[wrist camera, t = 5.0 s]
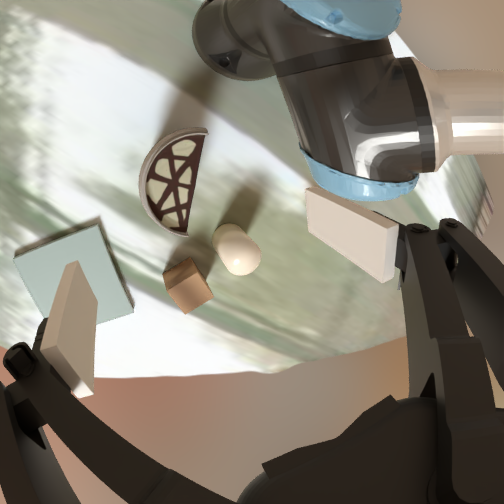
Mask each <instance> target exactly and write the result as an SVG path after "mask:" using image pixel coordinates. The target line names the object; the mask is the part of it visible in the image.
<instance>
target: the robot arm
mask: <svg viewBox="0 0 504 504" xmlns="http://www.w3.org/2000/svg"><path fill="white" fill-rule="evenodd" d="M401 11H402V6H401V1H400V0H206V1H205V2H204V3H203V4H202V6H201V7H200V9H199V10H198V12H197V14H196V16H195V18H194V21H193V26H192V37H193V42H194V45H195V48H196V50H197V52H198V54H199V55H200V57H201V58H202V59H203V60H204V62H205V63H206V64H207V65H208V66H210V67H211V68H212V69H213V70H215V71H216V72H218V73H220V74H222V75H224V76H226V77H229V78H232V79H236V80H242V81H255V80H261V79H265V78H268V77H271V76H274V75H277V79H278V82H279V84H280V87H281V90H282V92H283V95H284V98H285V101H286V103H287V106H288V109H289V112H290V114H291V117H292V120H293V123H294V126H295V129H296V132H297V135H298V138H299V147H300V150H301V152H302V154H303V155H304V156H305V158H306V161H307V164H308V166H309V169H310V172H311V174H312V177H313V178H314V180H315V181H316V182H317V184H318V185H320V186H321V187H322V188H324V189H326V190H328V191H329V192H328V191H326V190H324V189H321V188H319V187H316V186H314V187H311V188H307V189H305V197H306V208H307V220H308V232H310V233H311V234H313V235H314V236H316V237H317V238H319V239H320V240H322V241H323V242H325V243H326V244H328V245H329V246H330V247H332V248H333V249H335V250H336V251H338V252H339V253H340V254H342V255H343V256H345V257H346V258H348V259H349V260H350V261H352V262H353V263H355V264H356V265H357V266H359V267H360V268H362V269H363V270H364V271H366V272H367V273H369V274H370V275H371V276H373V277H374V278H376V279H377V280H378V281H380V282H381V283H384V282H386V281H388V280H390V279H392V278H394V270H395V266H396V267H397V268H399V269H400V277H399V284H398V290H400V287H401V290H402V298H403V305H404V314H405V323H406V334H407V346H408V361H409V397H408V398H405V399H401V400H397V401H396V400H395V399H394V398H393V397H392V396H391V395H389V396H387V397H386V398H385V399H383V400H382V401H380V402H379V403H377V404H376V405H374V406H373V407H371V408H369V409H368V410H366V411H364V412H363V413H362V414H361V415H360V416H359V417H358V418H357V419H356V420H355V421H354V422H353V423H352V424H351V425H350V426H349V427H348V428H347V429H346V430H345V431H344V432H343V433H342V434H341V435H340V436H338V437H337V438H335V439H332V440H328V441H325V442H321V443H317V444H313V445H309V446H306V447H301V448H297V449H295V450H292V451H290V452H288V453H286V454H284V455H282V456H279V457H277V458H274V459H272V460H270V461H267V462H265V463H262V466H263V469H264V472H263V473H261V474H260V475H259V476H257V477H256V478H255V479H254V480H253V481H252V482H250V483H249V485H248V486H247V487H246V488H245V489H244V491H243V492H242V493H241V495H240V497H239V499H238V500H237V502H233V501H231V500H229V499H227V498H225V497H223V496H221V495H219V494H216V493H214V492H212V491H210V490H208V489H206V488H205V487H203V486H201V485H199V484H197V483H195V482H193V481H191V480H190V479H188V478H186V477H184V476H183V475H181V474H179V473H177V472H176V471H174V470H172V469H168V468H166V467H164V466H163V465H161V464H160V463H158V462H156V461H155V460H154V459H152V458H150V457H149V456H148V455H146V454H145V453H143V452H141V451H140V450H139V449H137V448H136V447H135V446H133V445H132V444H131V443H129V442H128V441H126V440H125V439H124V438H122V437H121V436H120V435H118V434H117V433H116V432H115V431H113V430H112V429H111V428H110V427H108V426H107V425H106V424H105V423H104V422H102V421H101V420H100V419H99V418H98V417H96V416H95V415H94V414H93V413H92V412H91V411H89V410H88V409H87V408H86V407H85V406H84V405H83V404H81V402H79V401H78V400H77V399H76V398H75V397H74V396H73V395H72V394H71V390H72V391H73V393H74V394H75V395H76V396H77V397H78V398H81V397H85V396H89V395H93V394H94V351H95V333H96V319H97V308H98V301H97V299H96V297H95V295H94V293H93V291H92V289H91V287H90V285H89V283H88V281H87V278H86V276H85V274H84V272H83V270H82V268H81V265H80V263H79V261H78V260H77V261H74V262H71V263H68V264H66V266H65V269H64V271H63V274H62V277H61V280H60V283H59V285H58V288H57V291H56V294H55V298H54V301H53V304H52V307H51V310H50V314H49V317H47V318H44V319H43V321H42V322H41V324H40V325H39V327H38V330H37V334H36V335H37V336H36V337H35V342H34V344H33V348H32V350H31V349H30V347H29V346H28V345H27V344H26V343H25V342H19V343H17V344H15V345H13V346H12V347H11V348H10V349H9V350H8V351H7V352H6V354H5V356H4V358H3V365H4V367H5V368H6V369H7V370H8V371H9V372H10V374H11V375H12V376H13V377H14V379H15V380H16V381H15V382H13V383H12V384H10V385H8V386H7V387H5V386H4V385H3V383H2V382H1V381H0V485H1V488H2V491H3V494H4V497H5V499H6V502H7V504H81V503H80V501H79V500H78V498H77V496H76V494H75V493H74V491H73V490H72V488H71V486H70V484H69V482H68V481H67V479H66V477H65V475H64V473H63V471H62V469H61V467H60V465H59V463H58V461H57V459H56V457H55V455H54V453H53V451H52V448H51V446H50V444H49V442H48V439H47V437H46V435H45V432H44V430H43V428H42V426H44V425H45V424H47V423H48V425H49V426H50V427H51V428H52V429H53V431H54V432H55V433H56V434H57V435H58V437H59V438H60V439H61V440H62V441H63V442H64V443H65V445H66V446H67V447H68V448H69V449H70V450H71V451H72V452H73V453H74V454H75V455H76V456H77V457H78V458H79V459H80V460H81V461H82V462H83V464H84V465H86V466H87V467H88V468H89V469H90V470H91V471H92V472H93V473H94V474H95V475H96V476H97V477H98V478H99V479H100V480H101V481H103V482H104V483H105V484H106V485H107V486H108V487H109V488H110V489H111V490H113V491H114V492H115V493H116V494H117V495H119V496H120V497H121V498H122V499H124V500H125V501H126V502H127V503H128V504H504V408H495V402H494V397H493V390H492V386H491V380H490V376H489V371H488V367H487V363H486V359H487V361H488V363H489V365H490V367H491V369H492V371H493V373H494V375H495V377H496V379H497V381H498V383H499V385H500V386H501V388H502V389H503V391H504V265H503V264H502V263H501V262H500V260H499V259H498V258H497V257H496V256H495V255H494V254H493V253H492V252H491V251H490V250H489V249H488V248H487V247H486V246H485V245H484V244H483V243H482V242H481V241H480V240H479V239H478V238H477V237H476V236H475V235H474V234H473V233H472V232H471V231H470V230H468V229H467V228H466V227H465V226H464V225H463V224H462V223H461V222H459V221H457V220H455V219H453V218H445V219H442V220H440V223H439V229H436V230H431V229H430V228H429V227H427V226H425V225H422V224H417V223H414V224H409V225H407V226H405V225H403V224H401V223H399V222H397V221H395V220H392V219H389V218H388V217H386V216H383V215H382V214H380V213H378V212H375V211H371V210H368V209H366V208H364V207H362V206H360V205H358V204H355V203H353V202H351V201H349V200H347V199H351V200H358V201H385V200H390V199H395V198H398V197H399V196H400V194H407V193H409V192H411V191H412V190H413V189H414V188H415V186H416V184H417V181H418V179H419V173H427V172H437V171H438V169H439V168H440V167H441V165H442V164H443V163H444V161H445V160H446V158H448V157H449V156H450V155H472V154H504V70H503V71H502V70H478V69H477V70H475V69H469V70H468V69H467V70H466V69H463V70H462V69H460V70H432V69H429V68H428V67H427V66H425V65H424V64H422V63H421V62H420V61H418V60H417V59H416V58H414V57H404V58H395V57H394V55H393V52H392V48H391V45H390V42H389V39H388V35H390V34H391V33H392V32H393V31H394V30H395V29H396V28H397V27H398V25H399V23H400V20H401V17H400V16H399V13H401ZM342 197H343V198H342ZM344 198H347V199H344ZM457 259H458V264H457ZM465 321H466V323H467V324H468V326H469V328H470V329H471V331H472V333H473V335H474V337H470V336H469V333H468V330H467V326H466V323H465ZM485 357H486V359H485Z"/></svg>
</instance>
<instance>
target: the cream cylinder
mask: <svg viewBox="0 0 504 504" xmlns="http://www.w3.org/2000/svg"><path fill="white" fill-rule="evenodd" d="M212 245H213V247H214V249H215V250H216V252H217V253H218V255H219V256H220V258H221V259H222V261H223V262H224V264H225V265H226V267H227V268H228V270H229V271H230V272H231V273H233V274H235V275H246V274H249V273H251V272H252V271H254V270H255V269H256V268H257V266H258V265H259V263H260V260H261V250H260V248H259V247H258V245H257V244H256V243H255V242H254V241H253V240H252V239H251V238H250V237H249V236H248V235H247V234H246V233H245V232H244V231H243V230H242V229H241V228H240V227H239V226H237V225H236V224H232V223H227V224H223V225H221V226H220V227H218V228H217V229H216V230H215V232H214V234H213V236H212Z"/></svg>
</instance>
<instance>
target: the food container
mask: <svg viewBox="0 0 504 504" xmlns="http://www.w3.org/2000/svg"><path fill="white" fill-rule="evenodd" d="M205 135H209V134H208V131H207V129H206V128H186V129H182V130H178V131H176V132H173V133H171V134H169V135H167V136H166V137H164V138H163V139H161V140H160V141H159V142H158V143H157V144H155V146H154V147H153V148H152V149H151V150H150V151H149V153H148V155H147V156H146V158H145V160H144V162H143V164H142V167H141V170H140V175H139V195H140V198H141V202H142V204H143V206H144V208H145V210H146V212H147V213H148V215H149V216H150V217H151V218H152V219H153V220H154V221H155V223H157V224H158V225H159V226H160V227H162V228H163V229H164V230H166V231H168V232H170V233H172V234H175V235H178V236H183V237H189V235H188V232H187V228H188V220H189V214H190V209H191V203H192V198H193V194H194V189H195V185H196V179H197V172H198V167H199V162H200V157H201V152H202V147H203V143H204V138H205Z"/></svg>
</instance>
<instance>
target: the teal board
mask: <svg viewBox="0 0 504 504" xmlns="http://www.w3.org/2000/svg"><path fill="white" fill-rule="evenodd" d="M77 260H78V261H79V263H80V265H81V268H82V270H83V272H84V274H85V276H86V278H87V281H88V283H89V285H90V287H91V289H92V291H93V293H94V295H95V297H96V299H97V301H98V308H97V319H96V325H97V324H100V323H103V322H107V321H110V320H113V319H116V318H119V317H122V316H125V315H128V314H131V313H134V309H133V306H132V304H131V302H130V300H129V298H128V296H127V293H126V291H125V289H124V287H123V285H122V282H121V280H120V278H119V275H118V273H117V271H116V268H115V266H114V263H113V261H112V259H111V256H110V254H109V251H108V248H107V246H106V243H105V241H104V238H103V235H102V233H101V230H100V227H99V224H95V225H92V226H89V227H87V228H84V229H81V230H79V231H76V232H73V233H71V234H68V235H66V236H63V237H61V238H58V239H56V240H53V241H51V242H48V243H46V244H43V245H41V246H38V247H36V248H34V249H31V250H29V251H27V252H24V253H22V254H20V255H17V256H15V257H14V258H13V262H14V264H15V266H16V268H17V270H18V272H19V274H20V276H21V278H22V280H23V282H24V284H25V286H26V288H27V290H28V291H29V293H30V295H31V297H32V299H33V300H34V302H35V304H36V306H37V307H38V309H39V311H40V312H41V314H42V316H43V317H44V318H47V317H49V314H50V310H51V307H52V304H53V301H54V298H55V294H56V291H57V288H58V285H59V283H60V280H61V277H62V274H63V271H64V269H65V266H66V264H68V263H71V262H74V261H77Z"/></svg>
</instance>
